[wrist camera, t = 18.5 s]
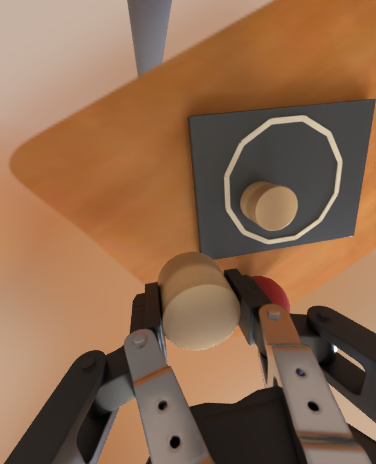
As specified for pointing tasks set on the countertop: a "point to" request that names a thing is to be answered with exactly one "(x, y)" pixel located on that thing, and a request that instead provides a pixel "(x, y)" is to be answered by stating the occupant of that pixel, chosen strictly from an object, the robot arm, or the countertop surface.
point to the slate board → (279, 172)
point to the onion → (273, 291)
